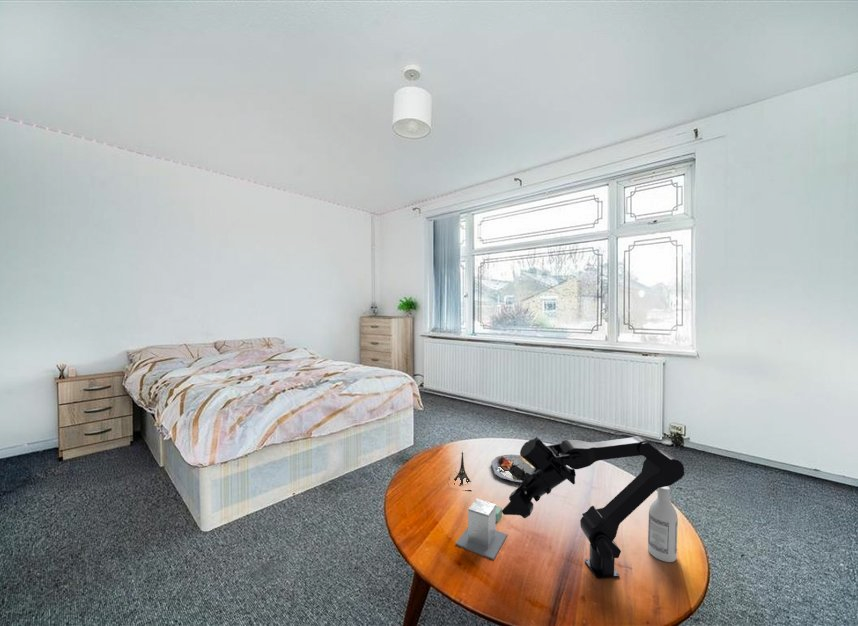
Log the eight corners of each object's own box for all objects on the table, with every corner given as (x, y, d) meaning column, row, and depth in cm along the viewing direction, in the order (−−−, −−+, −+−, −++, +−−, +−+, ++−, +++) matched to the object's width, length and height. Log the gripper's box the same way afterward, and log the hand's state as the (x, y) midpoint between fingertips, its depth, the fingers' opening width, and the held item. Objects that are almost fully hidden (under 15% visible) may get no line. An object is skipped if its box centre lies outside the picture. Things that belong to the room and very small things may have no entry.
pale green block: (501, 516, 119) (501, 508, 118) (497, 522, 115) (497, 514, 115) (490, 512, 121) (490, 504, 121) (486, 518, 117) (486, 510, 117)
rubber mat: (507, 535, 108) (507, 534, 108) (493, 560, 98) (493, 558, 98) (471, 523, 114) (471, 521, 114) (455, 544, 104) (455, 543, 104)
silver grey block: (495, 536, 107) (495, 504, 107) (487, 548, 102) (488, 515, 102) (476, 529, 111) (476, 498, 110) (467, 540, 105) (468, 508, 105)
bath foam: (663, 545, 105) (665, 480, 104) (682, 562, 98) (684, 492, 97) (642, 546, 104) (644, 481, 104) (659, 564, 97) (661, 493, 97)
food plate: (488, 457, 164) (488, 450, 163) (538, 459, 163) (538, 452, 162) (496, 487, 139) (497, 478, 138) (555, 489, 138) (556, 480, 138)
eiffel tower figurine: (450, 472, 150) (450, 441, 150) (474, 474, 149) (474, 443, 148) (446, 490, 136) (446, 456, 135) (472, 492, 134) (473, 458, 134)
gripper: (535, 441, 107) (500, 468, 113) (517, 465, 91) (477, 494, 97) (561, 473, 103) (524, 499, 109) (548, 504, 87) (504, 532, 93)
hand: (507, 504), depth 102 cm, fingers open, 9 cm apart
